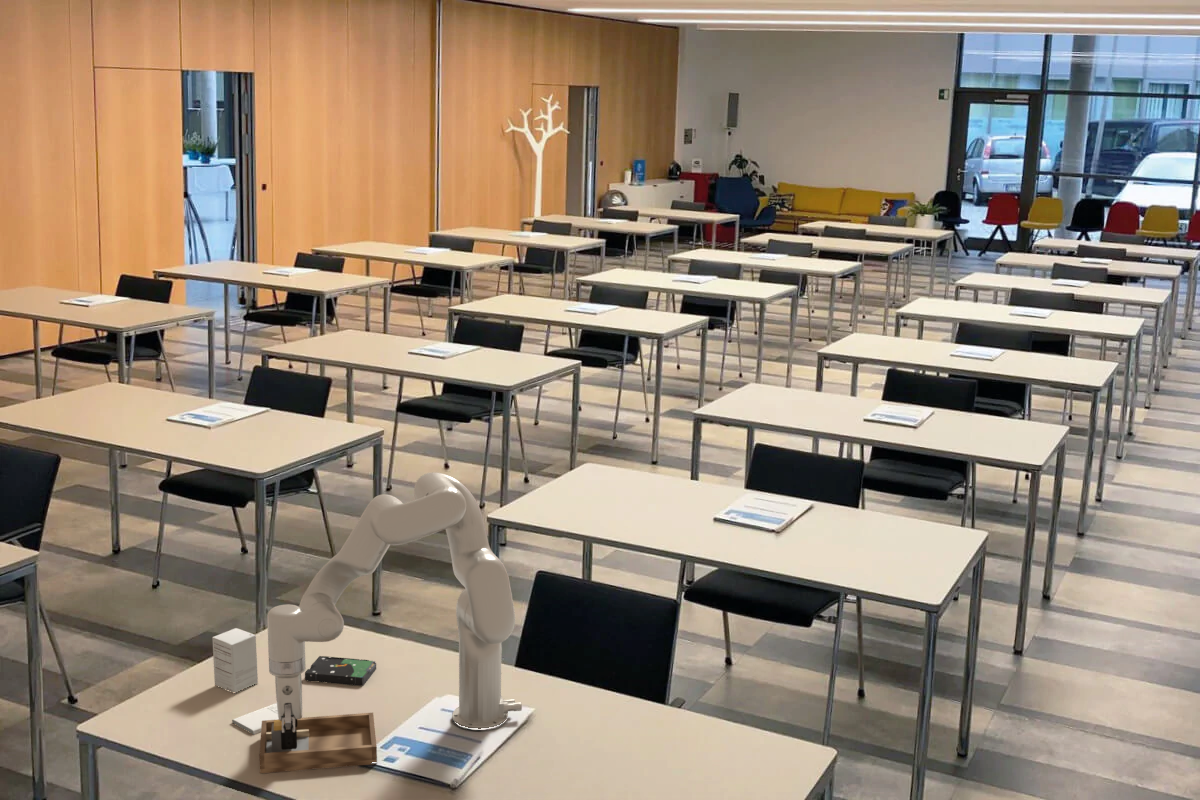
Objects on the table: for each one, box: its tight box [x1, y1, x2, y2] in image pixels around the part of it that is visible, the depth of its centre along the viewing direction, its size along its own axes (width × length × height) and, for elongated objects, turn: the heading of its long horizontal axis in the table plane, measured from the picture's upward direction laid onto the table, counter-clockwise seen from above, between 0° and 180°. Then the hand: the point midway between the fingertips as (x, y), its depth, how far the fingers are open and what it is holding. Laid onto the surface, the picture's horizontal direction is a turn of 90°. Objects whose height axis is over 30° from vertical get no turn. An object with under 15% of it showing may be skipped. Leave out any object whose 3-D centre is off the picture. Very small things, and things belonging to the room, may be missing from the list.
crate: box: [258, 712, 378, 774], centre depth 283 cm, size 24×16×4 cm, turn 102°
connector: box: [271, 720, 292, 753], centre depth 280 cm, size 4×4×6 cm
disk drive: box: [304, 655, 377, 687], centre depth 320 cm, size 10×3×15 cm
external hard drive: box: [231, 702, 279, 736], centre depth 296 cm, size 2×8×12 cm
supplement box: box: [211, 627, 259, 694], centre depth 312 cm, size 7×7×13 cm
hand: (289, 737), depth 281 cm, fingers open, 9 cm apart
